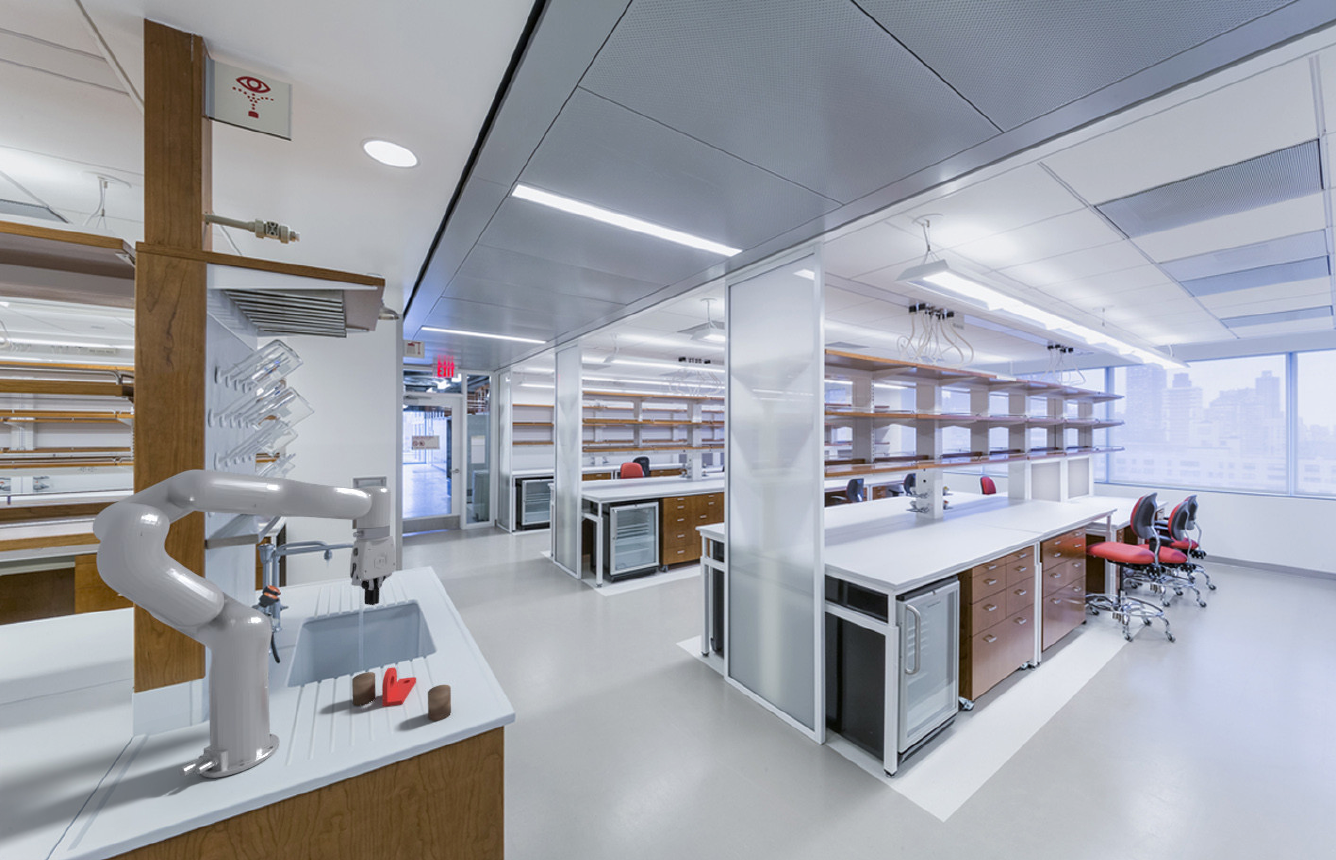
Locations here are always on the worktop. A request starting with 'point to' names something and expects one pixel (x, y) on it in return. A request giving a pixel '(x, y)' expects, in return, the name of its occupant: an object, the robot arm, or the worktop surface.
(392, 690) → the bracket
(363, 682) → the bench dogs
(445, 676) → the worktop surface
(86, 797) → the worktop surface
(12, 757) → the worktop surface
